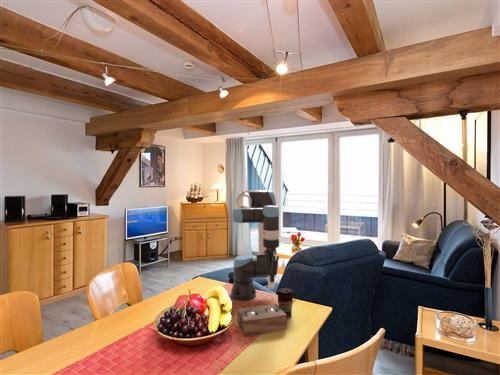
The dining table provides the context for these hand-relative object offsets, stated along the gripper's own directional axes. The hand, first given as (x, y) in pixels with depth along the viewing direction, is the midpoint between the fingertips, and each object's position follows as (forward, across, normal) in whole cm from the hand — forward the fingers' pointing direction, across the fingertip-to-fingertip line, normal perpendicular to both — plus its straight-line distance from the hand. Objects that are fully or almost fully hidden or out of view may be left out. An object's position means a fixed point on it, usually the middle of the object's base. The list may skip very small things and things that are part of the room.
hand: (271, 287), depth 131 cm
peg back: (+16, +1, 0) cm, 16 cm away
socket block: (+18, +1, -5) cm, 18 cm away
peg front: (+16, +1, -10) cm, 19 cm away
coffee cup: (+18, -6, +10) cm, 21 cm away
